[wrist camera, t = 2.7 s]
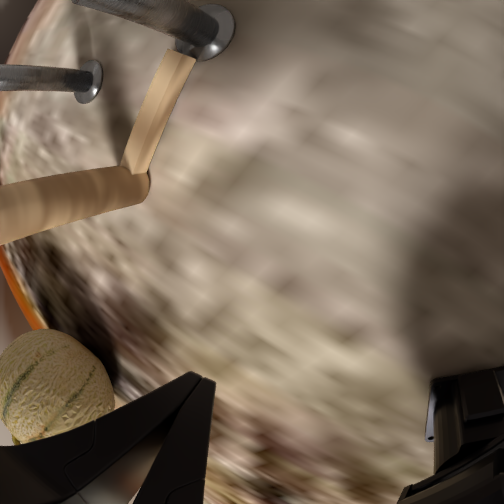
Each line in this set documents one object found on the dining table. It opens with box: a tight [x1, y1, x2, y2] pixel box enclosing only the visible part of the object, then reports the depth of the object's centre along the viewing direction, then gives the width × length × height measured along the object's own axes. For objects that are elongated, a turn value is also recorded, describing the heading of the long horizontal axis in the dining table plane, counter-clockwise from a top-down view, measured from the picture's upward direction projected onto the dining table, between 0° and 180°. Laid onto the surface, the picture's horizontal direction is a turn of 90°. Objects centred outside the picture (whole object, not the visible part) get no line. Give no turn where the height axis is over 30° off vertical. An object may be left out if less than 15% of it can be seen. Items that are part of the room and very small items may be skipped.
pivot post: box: [72, 0, 235, 62], centre depth 12 cm, size 4×4×10 cm
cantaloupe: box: [0, 329, 115, 445], centre depth 26 cm, size 15×15×15 cm
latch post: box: [0, 60, 103, 104], centre depth 15 cm, size 4×4×14 cm
